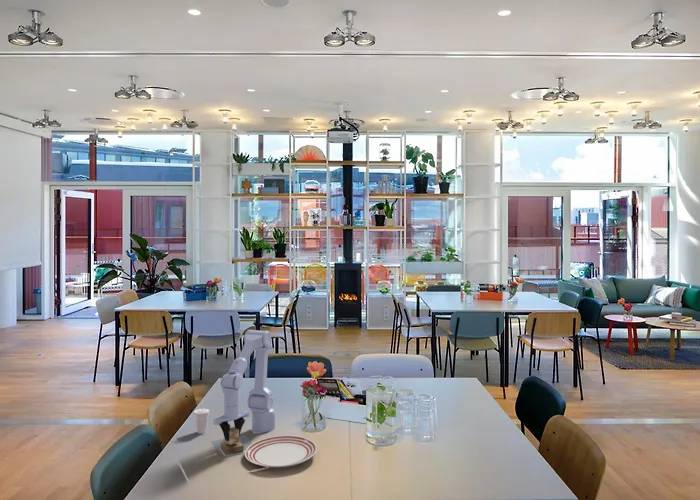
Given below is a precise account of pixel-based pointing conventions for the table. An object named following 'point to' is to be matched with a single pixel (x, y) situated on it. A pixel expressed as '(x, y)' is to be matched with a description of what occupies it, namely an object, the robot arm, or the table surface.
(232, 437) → the oak block
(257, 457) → the dinner plate
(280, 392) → the table surface
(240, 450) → the walnut slab
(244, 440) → the build board
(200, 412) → the smoothie
